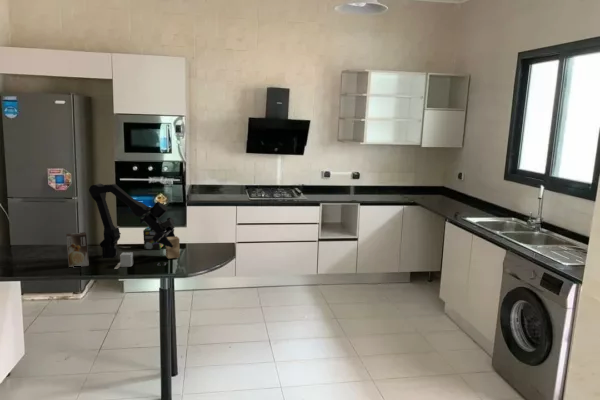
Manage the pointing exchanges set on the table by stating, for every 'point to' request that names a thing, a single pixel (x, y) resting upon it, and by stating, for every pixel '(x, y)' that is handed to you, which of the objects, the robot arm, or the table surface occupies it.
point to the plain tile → (117, 266)
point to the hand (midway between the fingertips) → (175, 244)
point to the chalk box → (150, 239)
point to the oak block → (173, 248)
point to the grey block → (126, 259)
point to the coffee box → (77, 249)
